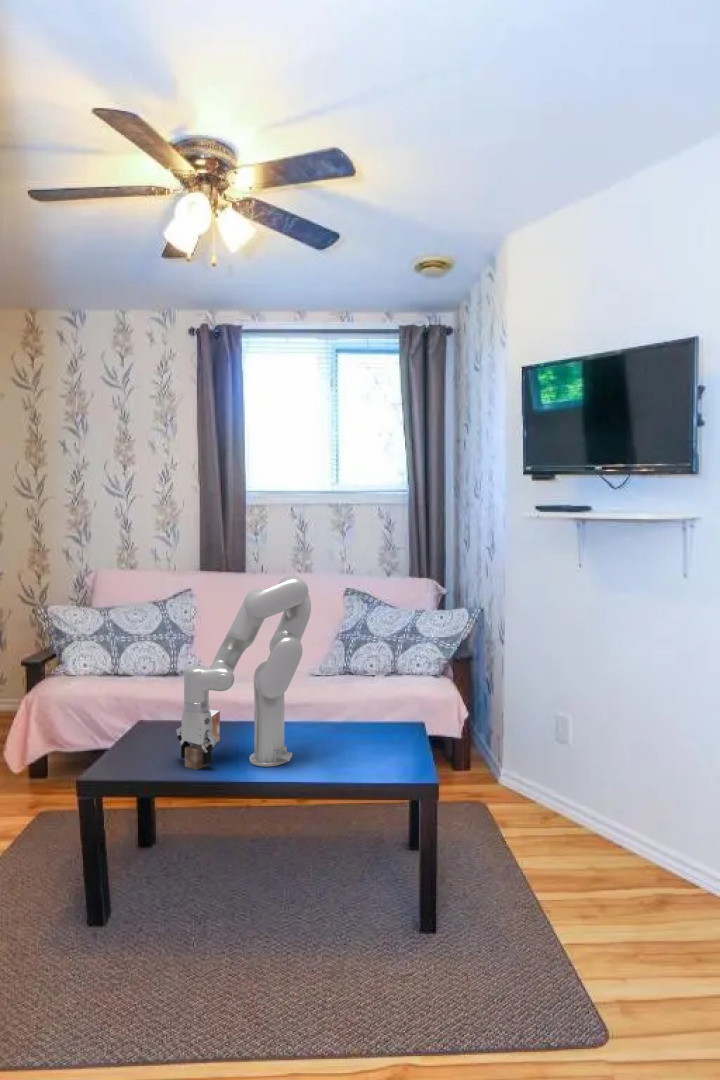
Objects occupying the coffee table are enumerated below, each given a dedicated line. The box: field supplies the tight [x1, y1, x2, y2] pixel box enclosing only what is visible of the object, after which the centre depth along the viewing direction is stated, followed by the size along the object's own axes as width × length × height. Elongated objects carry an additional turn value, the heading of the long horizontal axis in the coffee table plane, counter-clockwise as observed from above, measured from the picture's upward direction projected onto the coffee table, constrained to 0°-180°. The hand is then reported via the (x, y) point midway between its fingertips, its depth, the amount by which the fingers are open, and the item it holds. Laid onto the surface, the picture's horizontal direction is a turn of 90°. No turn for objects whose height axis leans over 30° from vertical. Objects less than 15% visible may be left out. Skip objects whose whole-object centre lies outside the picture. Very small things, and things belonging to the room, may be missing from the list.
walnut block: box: [184, 743, 209, 771], centre depth 209 cm, size 5×5×6 cm
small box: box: [204, 709, 221, 746], centre depth 230 cm, size 8×6×10 cm
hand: (196, 760), depth 209 cm, fingers open, 9 cm apart
